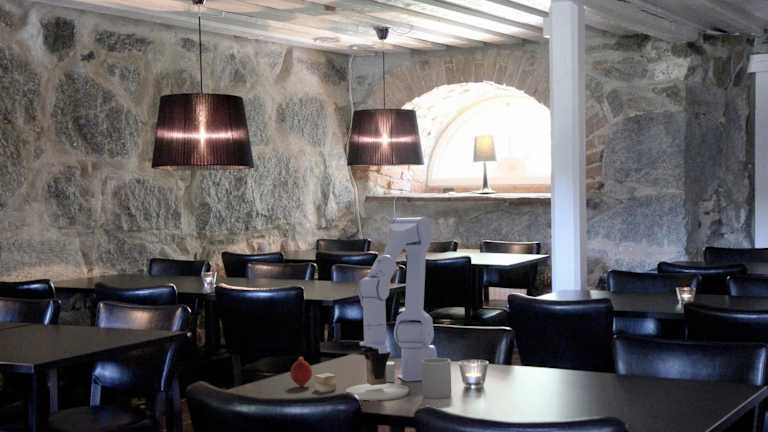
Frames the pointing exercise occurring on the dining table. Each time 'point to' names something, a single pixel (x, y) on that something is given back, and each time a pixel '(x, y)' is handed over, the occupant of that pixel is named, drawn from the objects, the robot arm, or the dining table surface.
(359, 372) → the dining table surface
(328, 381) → the oak block
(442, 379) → the cup
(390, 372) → the grey block
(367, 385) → the plate
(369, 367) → the walnut block
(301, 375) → the onion
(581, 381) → the dining table surface
